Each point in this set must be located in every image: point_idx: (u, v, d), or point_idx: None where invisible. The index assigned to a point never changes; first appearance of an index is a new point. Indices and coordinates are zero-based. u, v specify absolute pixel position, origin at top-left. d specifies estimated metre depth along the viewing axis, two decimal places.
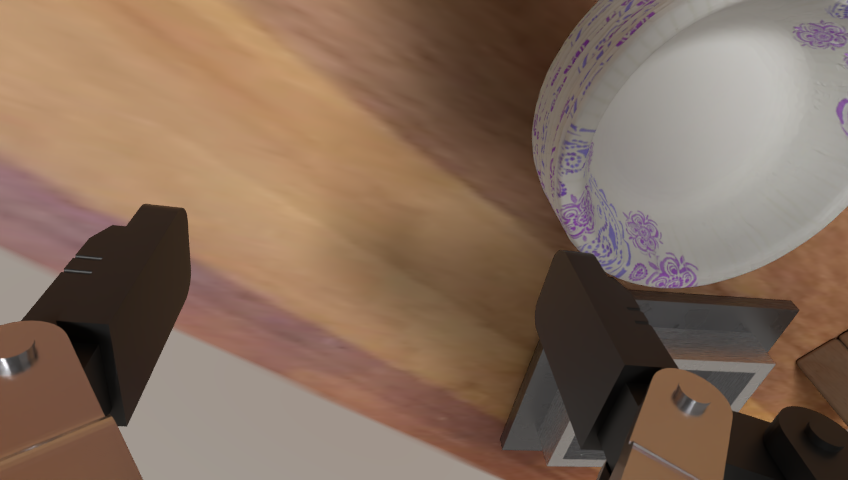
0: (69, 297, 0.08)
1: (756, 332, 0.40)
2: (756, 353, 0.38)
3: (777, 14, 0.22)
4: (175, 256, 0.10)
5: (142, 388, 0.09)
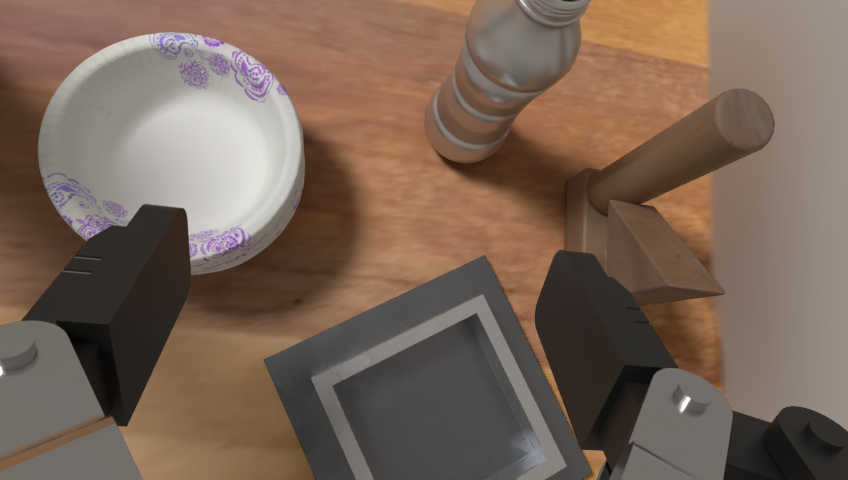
0: (70, 297, 0.08)
1: (475, 295, 0.41)
2: (468, 300, 0.39)
3: (164, 81, 0.36)
4: (175, 256, 0.10)
5: (142, 388, 0.09)
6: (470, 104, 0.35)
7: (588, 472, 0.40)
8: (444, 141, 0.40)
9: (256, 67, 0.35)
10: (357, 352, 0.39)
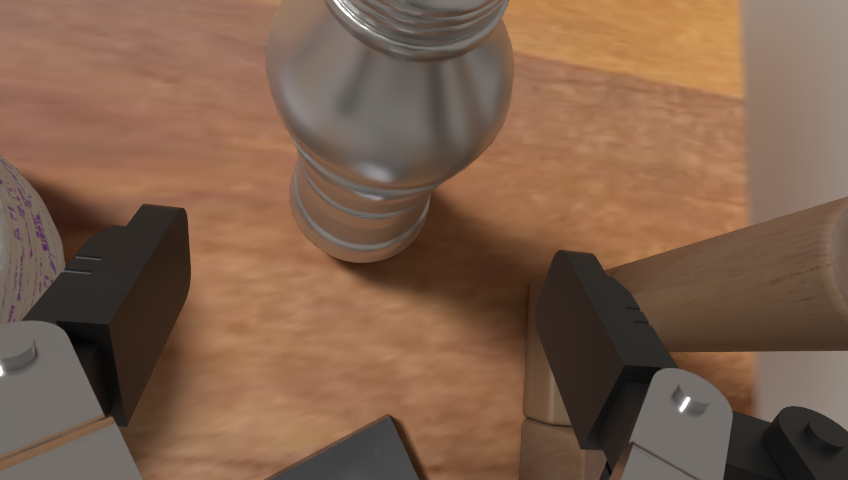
0: (70, 297, 0.08)
1: None
2: None
3: None
4: (175, 257, 0.10)
5: (142, 388, 0.09)
6: (325, 192, 0.19)
7: None
8: (314, 236, 0.24)
9: None
10: None
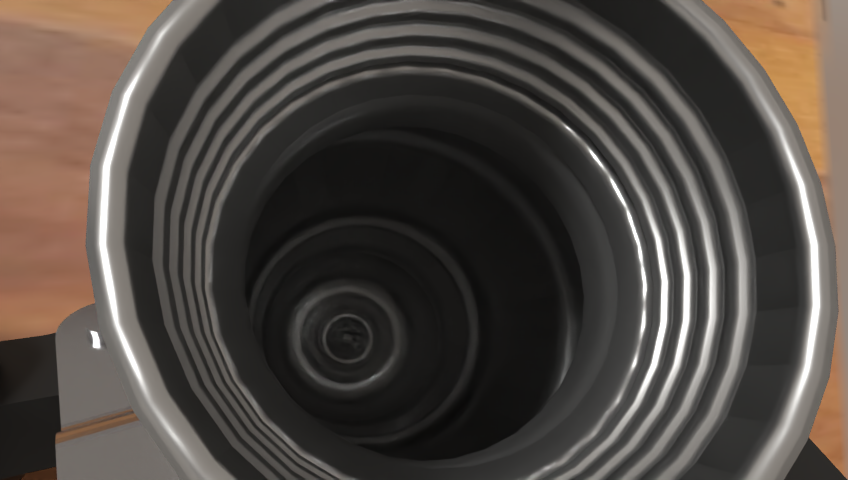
0: None
1: None
2: None
3: None
4: None
5: None
6: None
7: None
8: None
9: None
10: None
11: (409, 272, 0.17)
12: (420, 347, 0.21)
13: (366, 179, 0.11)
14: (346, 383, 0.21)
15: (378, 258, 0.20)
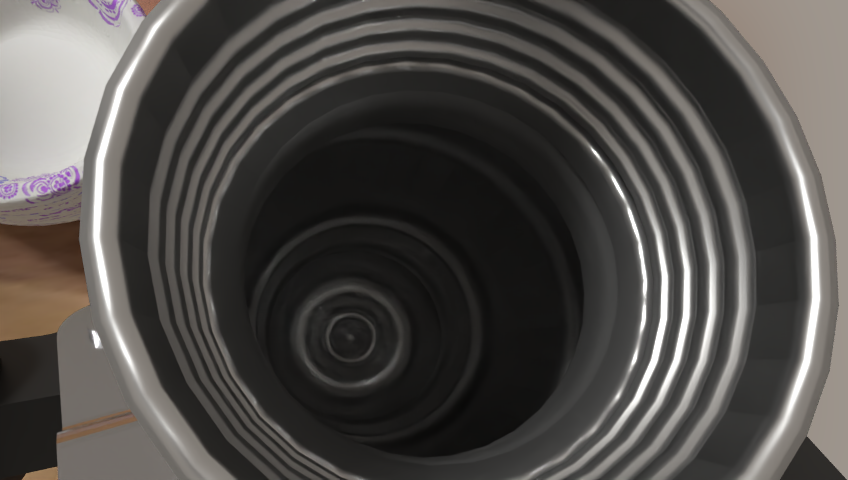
0: None
1: None
2: None
3: (6, 1, 0.31)
4: None
5: None
6: None
7: None
8: None
9: None
10: None
11: (412, 271, 0.17)
12: (423, 346, 0.21)
13: (368, 177, 0.11)
14: (349, 382, 0.21)
15: (381, 257, 0.20)
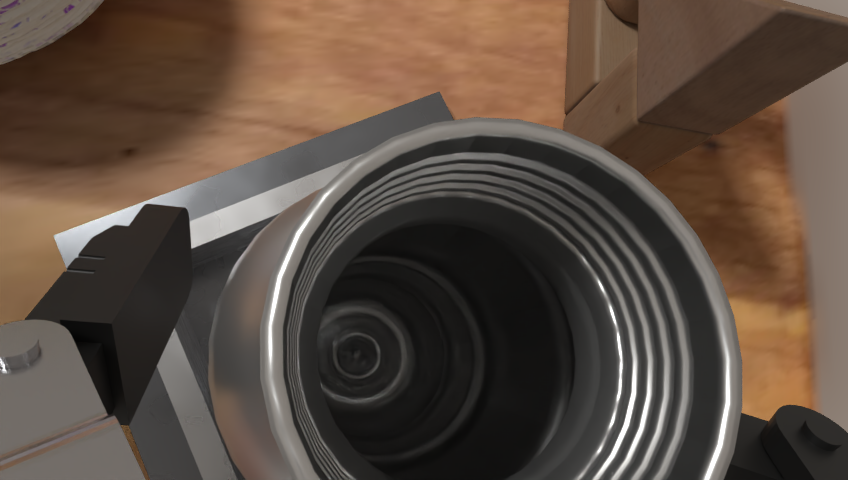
0: (73, 296, 0.08)
1: None
2: None
3: None
4: (178, 256, 0.10)
5: (145, 387, 0.09)
6: None
7: None
8: None
9: None
10: None
11: (417, 297, 0.19)
12: (425, 363, 0.22)
13: None
14: (355, 398, 0.22)
15: None
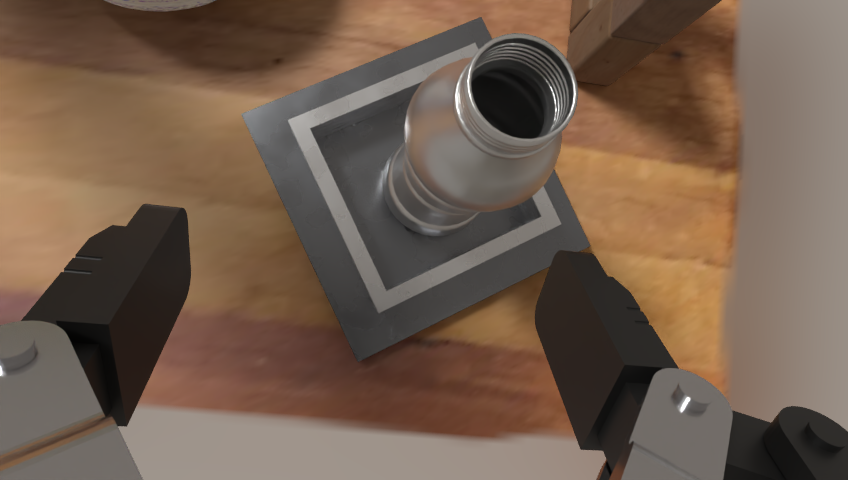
0: (69, 296, 0.08)
1: None
2: None
3: None
4: (175, 257, 0.10)
5: (142, 388, 0.09)
6: (424, 199, 0.27)
7: (586, 245, 0.38)
8: (403, 218, 0.33)
9: None
10: None
11: None
12: None
13: None
14: None
15: None
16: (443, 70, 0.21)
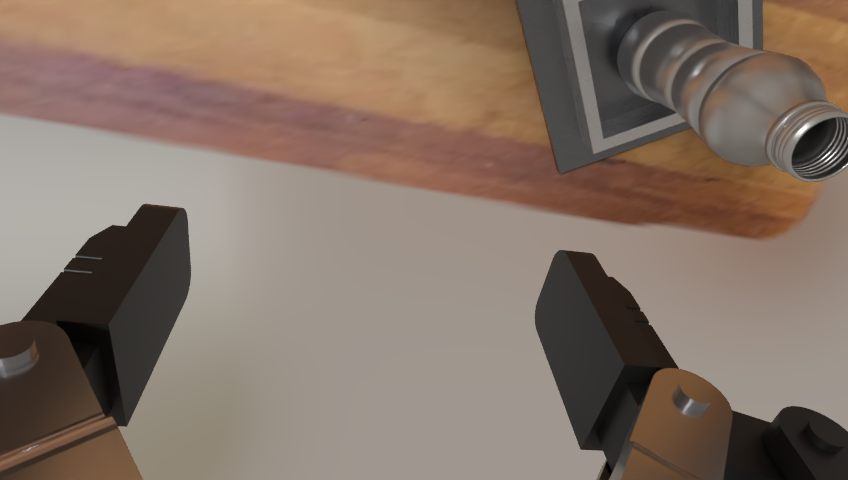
0: (69, 296, 0.08)
1: None
2: None
3: None
4: (176, 257, 0.10)
5: (142, 388, 0.09)
6: None
7: None
8: (634, 89, 0.41)
9: None
10: None
11: None
12: None
13: None
14: None
15: None
16: (759, 79, 0.28)
